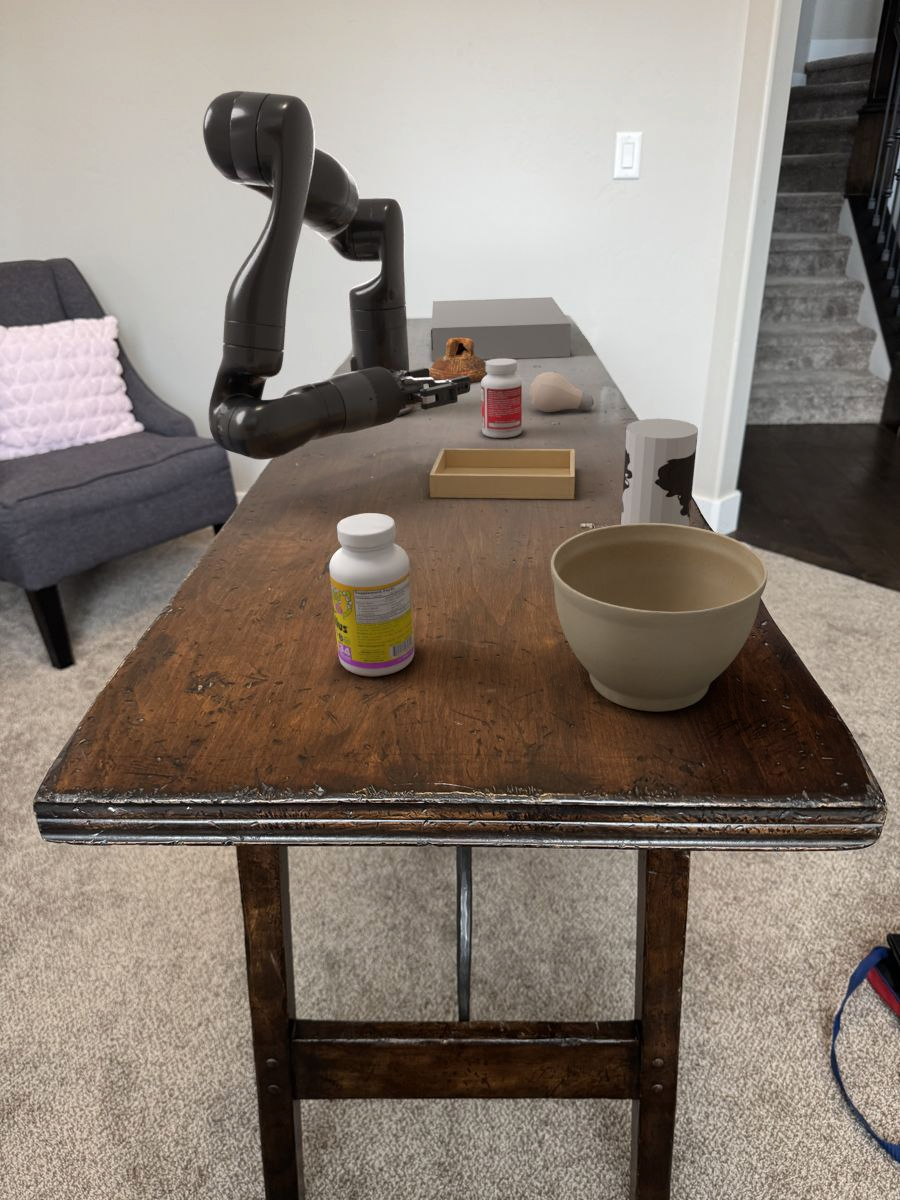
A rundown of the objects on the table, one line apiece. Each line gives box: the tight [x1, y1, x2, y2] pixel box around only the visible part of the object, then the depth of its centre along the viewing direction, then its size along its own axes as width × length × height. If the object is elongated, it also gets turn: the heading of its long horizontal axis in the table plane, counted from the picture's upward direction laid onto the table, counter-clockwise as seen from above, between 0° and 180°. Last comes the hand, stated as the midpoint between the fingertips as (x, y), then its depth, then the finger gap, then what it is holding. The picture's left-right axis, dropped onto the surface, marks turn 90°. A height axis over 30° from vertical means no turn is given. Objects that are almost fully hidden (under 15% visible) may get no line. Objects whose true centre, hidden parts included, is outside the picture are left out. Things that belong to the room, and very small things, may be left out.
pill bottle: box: [480, 358, 523, 439], centre depth 135 cm, size 6×6×11 cm
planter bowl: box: [550, 523, 769, 713], centre depth 71 cm, size 16×16×11 cm
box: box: [430, 296, 572, 362], centre depth 200 cm, size 35×29×7 cm
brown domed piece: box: [429, 338, 487, 383], centre depth 171 cm, size 12×12×7 cm
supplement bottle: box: [328, 512, 415, 677], centre depth 75 cm, size 7×7×13 cm
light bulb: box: [528, 371, 595, 413], centre depth 147 cm, size 7×7×11 cm
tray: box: [429, 447, 576, 500], centre depth 117 cm, size 18×11×3 cm, turn 83°
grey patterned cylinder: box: [620, 418, 699, 527], centre depth 89 cm, size 7×7×15 cm
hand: (447, 379), depth 126 cm, fingers open, 8 cm apart
